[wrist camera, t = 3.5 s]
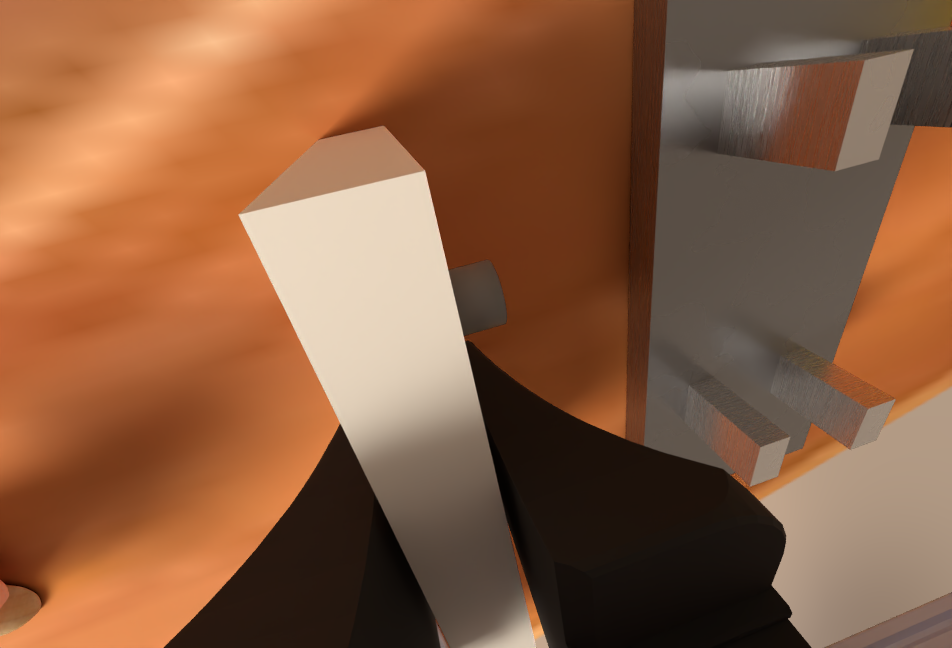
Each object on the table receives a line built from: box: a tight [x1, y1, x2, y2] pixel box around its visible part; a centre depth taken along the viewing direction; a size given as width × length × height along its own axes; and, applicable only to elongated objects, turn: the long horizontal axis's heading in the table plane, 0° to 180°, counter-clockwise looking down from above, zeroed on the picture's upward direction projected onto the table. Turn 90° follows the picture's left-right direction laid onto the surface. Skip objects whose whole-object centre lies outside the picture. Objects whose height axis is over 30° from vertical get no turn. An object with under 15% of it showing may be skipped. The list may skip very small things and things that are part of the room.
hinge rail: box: [626, 0, 952, 487], centre depth 12 cm, size 8×20×4 cm, turn 10°
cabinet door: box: [239, 126, 536, 648], centre depth 9 cm, size 2×12×7 cm, turn 10°
